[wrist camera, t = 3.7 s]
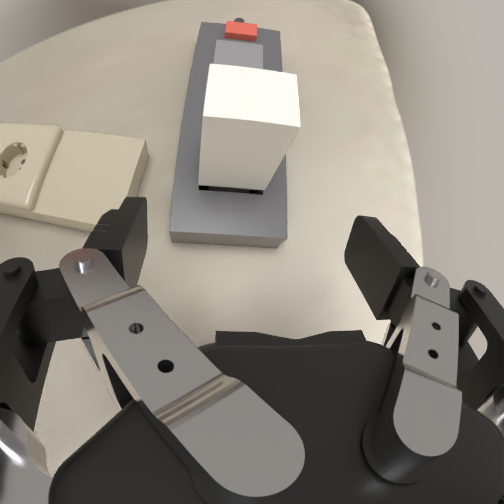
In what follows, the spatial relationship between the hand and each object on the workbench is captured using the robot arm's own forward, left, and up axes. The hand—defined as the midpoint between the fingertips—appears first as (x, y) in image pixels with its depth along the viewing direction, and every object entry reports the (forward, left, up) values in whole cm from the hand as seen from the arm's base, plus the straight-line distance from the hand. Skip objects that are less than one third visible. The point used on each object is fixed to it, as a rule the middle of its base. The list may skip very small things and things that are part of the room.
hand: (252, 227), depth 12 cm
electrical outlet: (-16, +7, -13) cm, 22 cm away
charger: (0, +7, -12) cm, 14 cm away
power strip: (0, +15, -12) cm, 20 cm away
